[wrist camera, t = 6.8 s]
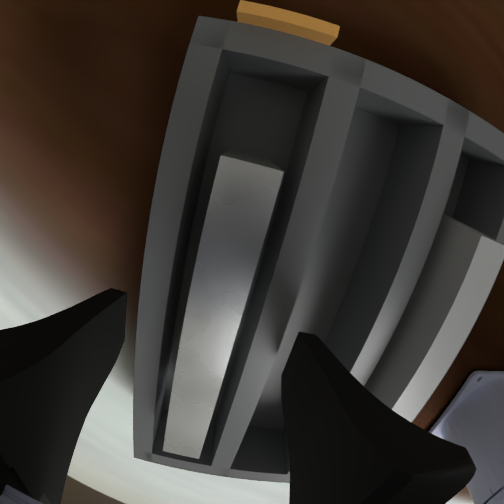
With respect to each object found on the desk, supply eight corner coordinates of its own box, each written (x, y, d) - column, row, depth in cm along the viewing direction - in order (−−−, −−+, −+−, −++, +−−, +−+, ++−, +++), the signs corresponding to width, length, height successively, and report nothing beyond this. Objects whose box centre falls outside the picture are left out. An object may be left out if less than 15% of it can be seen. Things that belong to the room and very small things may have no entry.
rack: (481, 140, 12) (560, 152, 7) (347, 436, 19) (364, 500, 14) (215, 41, 11) (194, -15, 6) (149, 407, 18) (128, 477, 13)
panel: (208, 385, 16) (199, 458, 12) (180, 378, 16) (162, 450, 12) (270, 159, 12) (283, 171, 8) (231, 148, 12) (220, 155, 8)
